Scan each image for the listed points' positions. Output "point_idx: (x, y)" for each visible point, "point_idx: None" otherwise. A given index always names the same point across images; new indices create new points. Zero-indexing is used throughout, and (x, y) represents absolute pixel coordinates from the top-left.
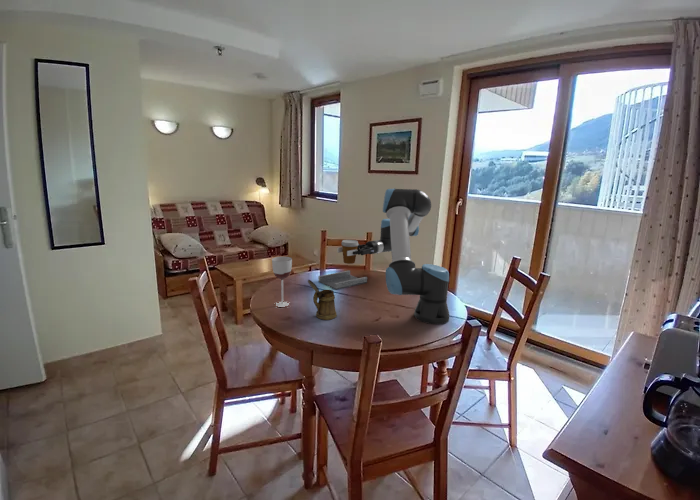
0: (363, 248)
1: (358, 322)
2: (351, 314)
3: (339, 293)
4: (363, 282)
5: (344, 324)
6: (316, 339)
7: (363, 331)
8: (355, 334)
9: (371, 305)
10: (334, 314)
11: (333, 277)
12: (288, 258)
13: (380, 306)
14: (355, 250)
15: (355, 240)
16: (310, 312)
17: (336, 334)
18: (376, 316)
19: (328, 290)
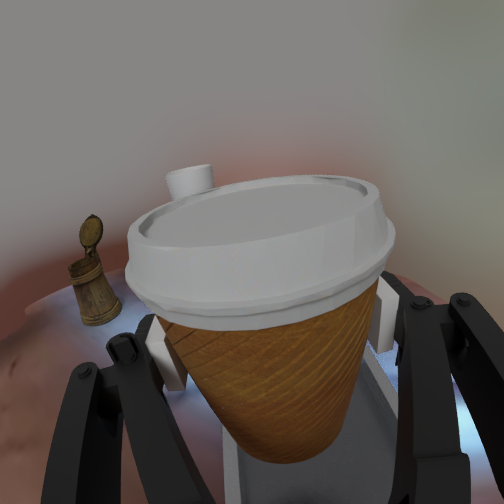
0: (155, 475)
1: (39, 338)
2: (63, 346)
3: (184, 391)
4: None
5: (57, 321)
6: (72, 287)
7: (24, 330)
8: (32, 319)
9: (43, 405)
10: (80, 311)
11: (390, 424)
12: (196, 173)
13: (22, 416)
14: (154, 326)
15: (269, 233)
16: (137, 299)
17: (55, 304)
18: (17, 373)
19: (84, 266)
